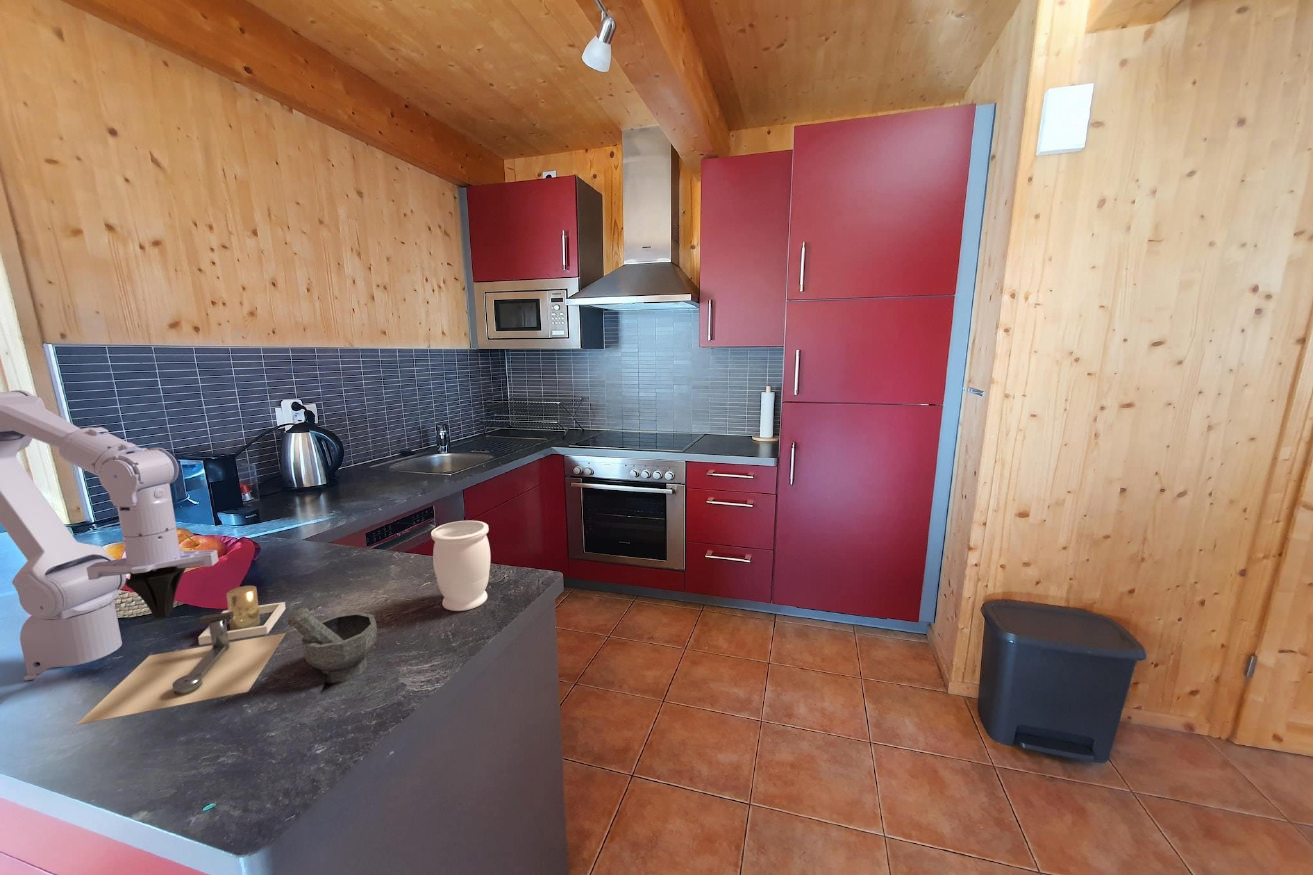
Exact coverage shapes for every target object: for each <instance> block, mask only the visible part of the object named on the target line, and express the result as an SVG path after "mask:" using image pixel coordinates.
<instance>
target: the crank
mask: <svg viewBox="0 0 1313 875" xmlns="http://www.w3.org/2000/svg"><path fill="white" fill-rule="evenodd" d="M233 617H234V614H233V612H227V613H222V612H221V613H220V612H219V613H215V614H208V615H202V616H201V617H199V619H198V622H199V625H202V624H208V627H209V628H210V635H211V641H212V643H211V645H212V647H213V648H212V649H211V650H210V651H209V652H208V653H207V654H206V656H205V657H204V658H203V659H202V660H201V661H200V662H199V663H198V665H197V666H196V667H195V668H194V669H193V670H192V671H191V672H190V674H189V675H186V676H183V677H181V678H179V679H177V680H176V681H174V682H173V684H172V685H173V691H174V694H176V695H181V694H186V693H189V692H192V691H194V690H196V689H198V688H199V687H200V686H201V685H202V684H203V681H202V678H203V677H204V676H205V674H206V673H207V672H208V671H209V670H210V668H211V667H212V666H213V665H214V664H215V663H216V661H217V660H218V659H219V658H220V657H221V655H222V654H223V653H224V652H225V651H226V650H227V649H228V648H229V647H230V645H229V642H230V640H229V639H228V632H227V631H228V628H227V621H228V620H229V621H230V619H232V618H233Z"/></svg>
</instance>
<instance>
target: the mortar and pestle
mask: <svg viewBox="0 0 1313 875" xmlns="http://www.w3.org/2000/svg"><path fill="white" fill-rule="evenodd" d="M286 620H287V625H288V626H289V627H293V628H295V630H297V631H298V633H299V634H301V645H302V650H303V652H302V653H303V655H304V657H305V658H304V659H305V661H306V662H307V663H308V664H309V665H310V666H311V667H312V668H315V669H318V670H321V673H322V674H325V675H327V677H326V679H325V682H326V683H330V684H333V683H339V682H345V681H349V680H351V679H353V678H354V677H357V676H358V675H360V674H362V672H363V671H364V670H365V669H367V667H368V663H367V658H366V656H367V655H368V654H369V653H370V652H371V651H372V650H373V648H374V646H375V644H376V641H377V636H378V635H377V634H378V627H377V621H376V619H375V616H374V614H369V613H364V612H351V613H345V614H343V613H342V614H337V615H334V616H332V617H329V618H326V619H324V620H322V621H320V620H318V619H317V618H315V616H313V615H312V614H311V613H310V610H309V609H308V608H307V607H300V608H299V609H296V610H295V611H294V612H292V613H291V614H290V616H289V617H288V619H286Z"/></svg>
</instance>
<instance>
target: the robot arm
mask: <svg viewBox="0 0 1313 875" xmlns="http://www.w3.org/2000/svg"><path fill="white" fill-rule="evenodd" d="M32 440H37V441H39V442H41V443H44V444H47V445H50V446H53V447H55V448H56V449H57V448H58V454H59V456H60V458H61V459H62V460H63V461H65V462H67V463H70V464H72V465H74V466H76V467H78V468H80V469H82V470H84V471H86V472H89V473H90V474H92V475H95V476H97V477H98V480H99V483H100V484H101V486H102V487H103V488H104V490H105V491H106V492H107V493H108V495H109V500H110V503H112V505H113V506H114V507H116V508H117V514H118V518H119V524H120V530H121V535H122V537H121V538H122V542H123V548H124V551H125V552H124V553H125V557H124V558H118V559H116V558H114V557H113V556H111V555H110V554H109V553H108V552H107V551H106V550H105V548H104V547H103V546H99V545H95V544H91V543H84V542H79V541H77V540H76V538H74V536H73V535H72V533H71V532H70V530H69V529H68V528H67V526H66V525H65V523H64V522H63V521H62V519H61V518H60V517H59V515H58V514H57V512H56V511H55V509H54V508H53V507H52V505H51V504H50V503H49V501H48V500H47V498H46V497H45V496H44V495H43V492H41V490H40V489H39V487H38V486H37V485H36V484H35V481H33V479H32V478H31V476H30V475H29V474H28V472H27V471H26V470H25V468H24V467H23V464H21V463H20V461H19V460H18V459H17V455H18V453H19V452H21V451H22V450H24V449H26V448H28V447H29V446H30V444H31V442H32ZM179 469H180V468H179V463H178V462H177V459H176V458H175V456H173V455H172V454H171V453H170V452H168V451H167V450H165V448H163V447H151V448H146V447H143V448H141V447H139V446H138V445H137V444H134V443H133V442H129V441H126V440H124V439H122V438H120V437H117V436H116V435H113V434H111V433H109V430H108V429H106V428H104V427H103V426H102V427H84V428H80V427H78V426H77V425H75V424H73V423H71V422H69V421H68V420H66V419H64V418H63V417H61V416H59V415H57V414H56V413H54V412H52V411H50V410H49V409H47V408H46V405H45V403H44V400H43V399H42V398H41V397H39V396H36V395H33V393H32V392H28V391H27V390H21V389H17V390H11V391H0V525H1V526H2V528H3V529H4V530H5V532H6V533H7V534H8V536H9V537H10V539H11V540H12V541H13V542H14V544H15V545H16V546H17V548H18V550H20V551H19V552H21V553H22V555H23V556H24V557H25V559H26V560H27V561H26V562H25V564H24V565H23V566H22V567H21V568H20V569H19V571H18V572H17V573H16V574H15V576H14V577H13V579H12V580H11V583H12V585H13V586H14V589H16V592H17V595H18V599H19V604H20V606H21V607H22V609H23V610H24V611H25V612H26V613H27V614H28V615H30V616H29V617H28V618H27V619H26V620H25V621H24V623H23V624H22V626H21V630H20V632H19V634H20V636H19V641H20V647H21V651H22V655H23V659H24V664H25V669H26V672H27V675H25V676H24V677H23V681H32V680H36V679H38V677H40V676H41V675H42V674H43V673H45V672H46V671H48V670H49V669H50V668H51V669H52V668H59V667H60V668H63V667H67V668H68V667H73V666H78V665H82V664H86V663H87V664H88V663H90V662H93V661H96V660H99V659H102V658H103V657H106V656H108V655H111V654H112V653H113V652H115V651H117V650H119V649H120V647H122V645H123V642H122V641H123V640H122V635H121V631H120V626H119V625H120V624H119V620H118V614H117V611H116V610H117V609H116V605H115V599H116V598H118V597H120V593H119V591H120V590H121V589H123V588H124V586H125V585H126V586H127V587H128V588H129V589H131V590H132V591H133V592H134V593H135V594H137V595H138V596H139V597H140V599H141V600H142V601H143V603H145V605H146V606H147V608H148V609H149V610H150V612H151V614H152V615H153V617H154V619H160V618H161V619H162V618H167V617H168V616H169V615H170V614H171V613H172V612H173V611H174V603H175V597H176V593H177V590H178V587H179V584H180V581H181V579H182V577H183V575H184V573H185V571H186V569H187V568H191V567H201V566H204V567H206V568H207V567H213V566H214V565H215V564H217V563H218V562H219V556H218V550H217V549H211V550H210V549H209V550H181V549H180V548H181V547H180V542H179V541H180V540H179V536H178V530H177V528H178V527H177V522H176V516H175V510H174V505H173V498H172V491H171V486H170V484H172V483H174V482H175V481H176V480H177V479H178V476H179ZM127 575H130V576H129V579H127Z"/></svg>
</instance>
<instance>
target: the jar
mask: <svg viewBox="0 0 1313 875" xmlns="http://www.w3.org/2000/svg"><path fill="white" fill-rule="evenodd" d="M489 530H490V528H489V524H487V523H486V522H484V521H479V520H459V521H453V522H448V523H445V524H441V525H439V526H437V527H436V528H434V529H433V530H432V531H431V535H430V536H431V539H432V540H433V541H434V544H433V553H432V562H433V570H434V574H435V577H436V581H437V585H438V588H439V591H440V593H441V594H442V596H443V599H442V604H441V605H442V606H443V608H444V609H446V610H449V611H453V612H462V611H468V610H472V609H474V608H477V607H479V606H481V605H483V604H484V603H485V602H486V601H487V599H488V593H487V591H486V588H487V586H488V583H489V578H490V570H491V548H490V543H489V539H488V536H487V534H488V533H489Z"/></svg>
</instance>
